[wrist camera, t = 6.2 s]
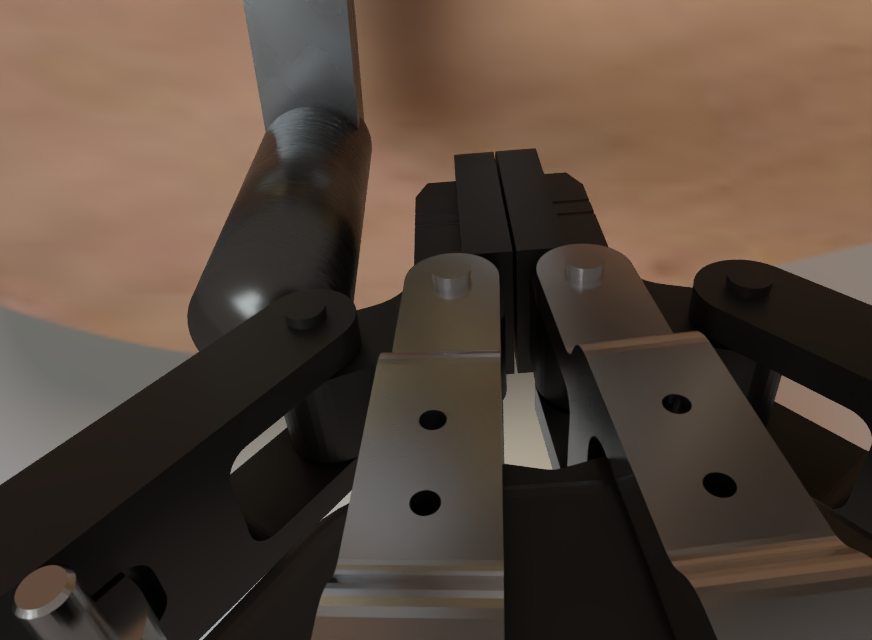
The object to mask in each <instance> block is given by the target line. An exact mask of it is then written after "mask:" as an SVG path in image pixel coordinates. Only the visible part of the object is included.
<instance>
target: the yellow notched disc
mask: <svg viewBox="0 0 872 640" xmlns="http://www.w3.org/2000/svg"><path fill="white" fill-rule="evenodd" d="M243 3H244V9H245V15H246V21H247V27H248V32H249V38H250V44H251V50H252V55H253V61H254V67H255V73H256V79H257V84H258V90H259V96H260V102H261V107H262V113H263V119H264V125H265V131H266V133H265V135H264V138H263V140H262V142H261V144H260V146H259V149H258V151H257V153H256V155H255V158H254V160H253V162H252V164H251V167H250V169H249V171H248V173H247V175H246V178H245V180H244V182H243V184H242V187H241V189H240V191H239V193H238V196H237V198H236V200H235V202H234V204H233V207H232V209H231V211H230V213H229V216H228V218H227V220H226V222H225V224H224V227H223V229H222V231H221V233H220V236H219V238H218V240H217V242H216V245H215V247H214V249H213V251H212V253H211V256H210V258H209V260H208V262H207V265H206V267H205V269H204V271H203V274H202V276H201V278H200V280H199V282H198V285H197V287H196V289H195V291H194V294H193V296H192V298H191V301H190V304H189V307H188V315H187V317H188V327H189V332H190V335H191V337H192V340H193V342H194V344H195V346H196V347H197V349H198V350H199V352H200V351H201V350H203V349H204V348H206V347H207V346H209V345H210V344H212V343H213V342H215V341H216V340H218V339H219V338H221V337H222V336H224V335H225V334H227V333H228V332H230V331H231V330H233V329H234V328H236V327H237V326H239V325H240V324H242V323H243V322H244V321H246V320H247V319H249V318H250V317H252V316H253V315H255V314H256V313H258V312H259V311H261V310H262V309H264V308H265V307H267V306H268V305H270V304H271V303H273V302H275V301H276V300H278V299H280V298H282V297H284V296H286V295H289V294H292V293H295V292H299V291H303V290H310V289H327V290H333V291H337V292H340V293H342V294H344V295H346V296H347V297H349V298H350V299H351V300H352V301H353V302H354V293H355V285H356V277H357V269H358V260H359V252H360V244H361V236H362V227H363V219H364V211H365V202H366V194H367V186H368V178H369V169H370V161H371V153H372V143H371V137H370V133H369V130H368V128H367V126H366V124H365V122H364V113H363V101H362V90H361V78H360V66H359V54H358V42H357V30H356V19H355V7H354V0H243Z"/></svg>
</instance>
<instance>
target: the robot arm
mask: <svg viewBox="0 0 872 640" xmlns="http://www.w3.org/2000/svg"><path fill="white" fill-rule="evenodd" d="M454 162H455V177H456V181H452V182H440V183H427V185H426V186H425V187H424V188H423V189H422V191H421V192H420V193H419V194H418V195H417V197H416V208H415V213H416V215H415V252H414V266H413V267H412V268H411V269H410V270H409V271H408V273H407V275H406V277H405V281H404V287H403V292H401V293H400V294H399V295H397V296H396V297H394V298H392V299H390V300H388V301H386V302H383V303H381V304H378V305H375V306H371V307H368V308H364V309H360V310H357V311H356V307H355V305H354V303H353V301H352V300H351V299H350V298H349V297H347V296H346V295H344V294H342V293H340V292H337V291H333V290H327V289H310V290H303V291H299V292H295V293H292V294H289V295H286V296H284V297H282V298H280V299H278V300H276V301H275V302H273V303H271V304H270V305H268V306H267V307H265V308H264V309H262V310H261V311H259V312H258V313H256V314H255V315H253V316H252V317H250V318H249V319H247V320H246V321H244V322H243V323H242V324H240V325H239V326H237V327H236V328H234V329H233V330H231V331H230V332H228V333H227V334H225V335H224V336H222V337H221V338H219V339H218V340H216V341H215V342H213V343H212V344H210V345H209V346H207V347H206V348H204V349H203V350H201V351H200V352H198V353H197V354H195V355H194V356H192V357H191V358H189V359H188V360H186V361H185V362H183V363H182V364H180V365H179V366H177V367H176V368H174V369H173V370H171V371H170V372H168V373H167V374H165V375H164V376H163V377H161V378H159V379H158V380H156V381H155V382H154V383H152V384H150V385H149V386H147V387H146V388H144V389H143V390H142V391H140V392H139V393H137V394H136V395H134V396H133V397H131V398H130V399H128V400H127V401H125V402H124V403H122V404H121V405H119V406H118V407H116V408H115V409H113V410H112V411H110V412H109V413H107V414H106V415H104V416H103V417H101V418H100V419H98V420H97V421H95V422H94V423H92V424H91V425H89V426H88V427H86V428H85V429H83V430H82V431H81V432H79V433H77V434H76V435H74V436H73V437H71V438H70V439H68V440H67V441H65V442H64V443H62V444H61V445H59V446H58V447H57V448H55V449H53V450H52V451H50V452H49V453H48V454H46V455H45V456H43V457H42V458H40V459H39V460H37V461H36V462H34V463H33V464H31V465H30V466H28V467H27V468H25V469H24V470H22V471H21V472H19V473H18V474H16V475H15V476H13V477H12V478H10V479H9V480H7V481H6V482H4V483H3V484H1V485H0V640H199V639H200V638H201V637H202V636H203V635H204V634H205V633H206V632H207V631H208V630H209V629H210V628H211V627H212V626H213V625H214V624H215V623H216V622H217V621H218V620H219V619H220V618H221V617H222V616H223V615H224V614H225V613H226V612H228V611H229V610H230V609H231V608H232V606H234V605H235V604H236V603H237V602H238V601H239V600H240V599H241V598H242V597H243V596H244V595H245V594H246V593H247V592H248V591H249V590H250V589H251V588H252V587H253V586H254V585H255V584H256V583H257V582H258V581H259V580H260V579H261V578H262V577H263V576H264V575H265V574H266V573H267V572H268V571H269V572H268V573H267V574H266V575H265V576H264V577H263V578H262V579H261V580H260V581H259V582H258V583H257V584H256V585H255V586H254V587H253V588H252V589H251V590H250V591H249V592H248V593H247V594H246V595H245V597H244V598H243V599H242V600H241V601H240V602H239V603H238V604H237V605H236V606H235V607H234V608H233V609H232V610H231V611H230V612H229V613H228V614H227V615H226V616H225V617H224V618H223V619H222V620H221V622H220V623H219V624H218V625H217V626H216V627H215V628H214V629H213V630H212V631H211V632H210V633H209V634H208V635H207V636H206V637H205V638H204V639H203V640H872V445H871V448H870V450H869V451H867V450H864V449H862V448H860V447H859V446H857V445H855V444H853V443H851V442H849V441H847V440H845V439H844V438H842V437H840V436H838V435H836V434H834V433H832V432H831V431H829V430H827V429H825V428H823V427H821V426H819V425H817V424H816V423H814V422H812V421H810V420H808V419H806V418H804V417H803V416H801V415H799V414H797V413H795V412H793V411H791V410H789V409H788V408H786V407H784V406H782V405H780V404H778V403H776V402H775V401H774V400H775V396H776V393H777V389H778V386H779V383H780V379H781V376H782V375H783V376H785V377H787V378H789V379H791V380H793V381H795V382H797V383H799V384H801V385H803V386H805V387H807V388H809V389H811V390H813V391H815V392H817V393H819V394H821V395H823V396H825V397H826V398H828V399H830V400H832V401H834V402H836V403H838V404H840V405H842V406H844V407H846V408H848V409H850V410H852V411H853V412H855V413H856V414H857V415H859V416H860V417H861V418H862V419H863V420H864V422H865V423H866V424H867V425H868V427H869V429H870V431H871V435H872V305H869V304H866V303H864V302H862V301H859V300H856V299H854V298H851V297H849V296H847V295H844V294H842V293H839V292H837V291H834V290H832V289H829V288H827V287H824V286H822V285H819V284H816V283H814V282H812V281H809V280H807V279H804V278H802V277H799V276H797V275H794V274H792V273H789V272H787V271H784V270H782V269H779V268H777V267H774V266H771V265H768V264H765V263H761V262H756V261H750V260H725V261H719V262H715V263H712V264H709V265H707V266H705V267H703V268H702V269H701V270H700V271H699V272H698V273H697V274H696V276H695V279H694V283H693V288H690V287H682V286H673V285H665V284H659V283H654V282H649V281H646V280H643V279H641V278H640V276H639V275H638V273H637V271H636V270H635V268H634V266H633V265H632V263H631V262H630V260H629V259H628V258H627V257H626V256H625V255H623V254H622V253H620V252H618V251H616V250H614V249H612V248H609V247H608V245H607V242H606V240H605V238H604V235H603V233H602V230H601V228H600V225H599V223H598V220H597V218H596V216H595V214H594V211H593V208H592V206H591V203H590V202H589V198H588V196H587V194H586V191H585V189H584V186H583V184H581V183H580V182H579V181H577V180H576V179H574V178H573V177H572V176H570V175H569V174H567V173H553V174H544V173H543V170H542V167H541V163H540V160H539V157H538V154H537V151H536V149H535V148H534V149H521V150H508V151H496V153H495V158H494V153H493V152H485V153H472V154H460V155H454ZM514 353H515V359H516V365H517V371H518V373H527V372H534V378H535V409H536V413H537V417H538V420H539V424H540V427H541V430H542V434H543V437H544V441H545V444H546V447H547V451H548V455H549V458H550V461H551V464H552V468H553V470H546V469H538V468H530V467H523V466H516V465H508V464H504V432H503V431H504V430H503V399H504V398H505V395H506V391H507V384H506V374H514ZM283 416H285V420H286V423H287V428H286V429H285V430H283V431H282V432H281V433H280V434H279V435H277V436H276V437H275V438H274V439H273V440H271V441H270V442H269V443H268V444H267V445H265V446H264V447H263V448H262V449H261V450H259V451H258V452H257V453H256V454H255V455H253V456H252V457H251V458H250V459H249V460H247V461H246V462H245V463H244V464H243V465H241V466H240V467H239V468H238V469H237V470H235V471H234V472H233V473H232V474H230V472H231V468H232V465H233V463H234V461H235V459H236V457H237V456H238V455H239V453H240V452H241V451H242V449H244V448H245V447H246V446H247V445H248V444H249V443H251V442H252V441H253V440H254V439H256V438H257V437H258V436H259V435H260V434H262V433H263V432H264V431H265V430H267V429H268V428H269V427H270V426H272V425H273V424H274V423H275V422H277V421H278V420H279V419H280V418H281V417H283ZM351 490H352V493H351V497H350V502H349V503H348V504H347V505H345V506H343V507H341V508H339V509H337V510H336V511H334V512H333V513H331V514H330V515H328V516H327V517H325V516H326V515H327V514H328V513H329V512H330V511H331V510H332V509H333V508H334V507H335V506H336V505H337V504H338V503H339V502H340V501H341V500H342V499H343V498H344V497H345V496H346V495H347V494H348V493H349V492H350V491H351ZM323 517H325V518H324V519H322V518H323ZM319 521H320V522H319ZM318 522H319V523H318Z"/></svg>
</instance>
